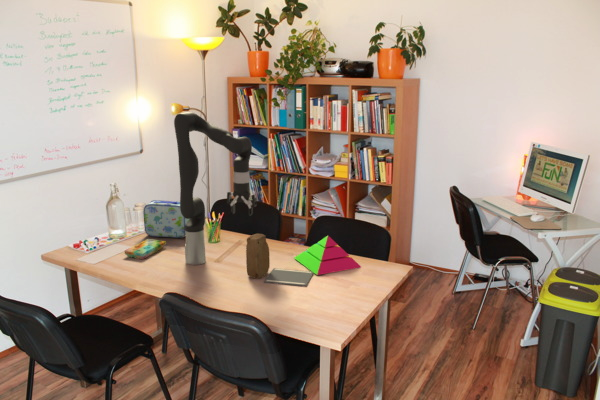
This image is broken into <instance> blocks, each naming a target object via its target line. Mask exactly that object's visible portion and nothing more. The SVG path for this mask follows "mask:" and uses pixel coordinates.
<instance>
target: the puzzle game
mask: <svg viewBox="0 0 600 400" xmlns="http://www.w3.org/2000/svg"><path fill="white" fill-rule="evenodd" d="M166 244H167V241H166V240H158V239H152V238H151V239H150V238H147V239H144V240H143V241H141V242H138V244H134V245H133V246H131V247H128V248H126V249H125V250H124V254H125V255H126V256H127V257H128V258H132V257H134V259H139V258H140V259H139V260H144V259H147V258H148V257H150V256H151V255H153V254H155V253H157V252H159V251H160V250H162V247H164V246H165V245H166ZM158 250H159V251H158ZM149 255H150V256H149Z"/></svg>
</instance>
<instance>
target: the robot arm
mask: <svg viewBox="0 0 600 400" xmlns="http://www.w3.org/2000/svg"><path fill="white" fill-rule="evenodd" d="M173 126H174V132H175V138H176V142H177V154H178V170H179V182H180V183H179V184H180V186H179V187H180V188H179V189H180V191H179V192H180V193H179V195H180V198H179V199H180V200H179V202H180V210H181V214H182V216H183V217H184V218H186V219H189V221H188V222H187V223H186V224H185V236H184V237H185V245H184V255H185V256H184V257H185V264H188V265H189V266H190V265H191V266H198V265H203V264H205V262H207V261H206V259H207V258H206V246H205V245H206V244H205V227H204V226H205V224H206V207H205V203H204V201H203V200H202V198H200V197H198V196H195V197H194V188H195V185H196V182H197V180H198V177H199V173H200V172H199V167H200V166H199V158H198V155H197V154H196V151H194V148H193V146H192V144H191V140H190V132H199V133H202V134H204V135H205V136H207V137H208V139H209V140H211V142H214V143H216V144H217V145H220V146H223V147H224V148H225V149H227V150H228V151H229V152H231V153H233V154H235V155H237V156H236V158H235V159H233V172H232V173H233V175H232V183H233V184H232V185H233V189H232V190H233V191H231V190H229V191H227V192H226V205H229V206H230V212H231V214H232V215H234V214H236V205H235V204H237V202H238V203H245V205H246V206H247V207H248V216H249V217H251V216H252V215H254V214H253V213H254V208H255V207H257V206H258V200H257V194H256V193H251V191H250V189H251V186H250V184H251V181H250V180H251V178H250V177H251V176H250V159H251V154H252V150H253V149H252V147H253V144H252V141H251V139H250V138H249V137H247V136H242V137H234V134H233V133H232V132H230V131H228V130H225V129H223V128H222V127H219V126H217V125H214V124H213V123H210V121H208V120H206V119H204V118H203V117H202V116H200V115H198V114H196V113H195V112H193V111H187V112H181V113H180V112H179V113H177V114H175V116H174V120H173ZM233 197H234V198H233ZM232 198H233V200H232Z"/></svg>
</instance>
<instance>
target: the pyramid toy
mask: <svg viewBox="0 0 600 400" xmlns="http://www.w3.org/2000/svg"><path fill="white" fill-rule="evenodd" d="M294 259H295V260H296V261H298V263H300V264H302V266H304V267H306V268H307V269H308V270H309V271H310V272H314V273H313V274H314V275H316V276H320V275H326V274H331V273H337V272H341V271H346V270H347V271H348V270H354V269H358V268H362V266H361V265H360V264H359V263H358V262H357V261H356V260H355V259H354V258H353V257H351V256H350V254H349V253H347V251H345V250H344V249H343V248H342V247H341V246H339V244H338V243H336V241H335V240H334V239H332V237H330V235H327V236H324V237H323V238H322V239H321V240H319V241H317V243H314V244H312V245H311V246H310V247H308V248H307V249H306V250H304V251H302V252H301V253H299V254H298V255H296V256H294Z"/></svg>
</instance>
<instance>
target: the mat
mask: <svg viewBox="0 0 600 400" xmlns="http://www.w3.org/2000/svg"><path fill="white" fill-rule="evenodd" d="M314 274H315V273H314V272H312V271H311V270H309V271H307V270H298V269H287V268H277V267H274V268H272V270H271V271H270V273H269V274H268V275H267V277H266V278H265V279H264V281H263V283H264V284H276V285H287V286H296V287H297V286H298V287H305V288H306V287H308V284H309V283H310V280H311V278H312V277H313V275H314Z"/></svg>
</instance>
